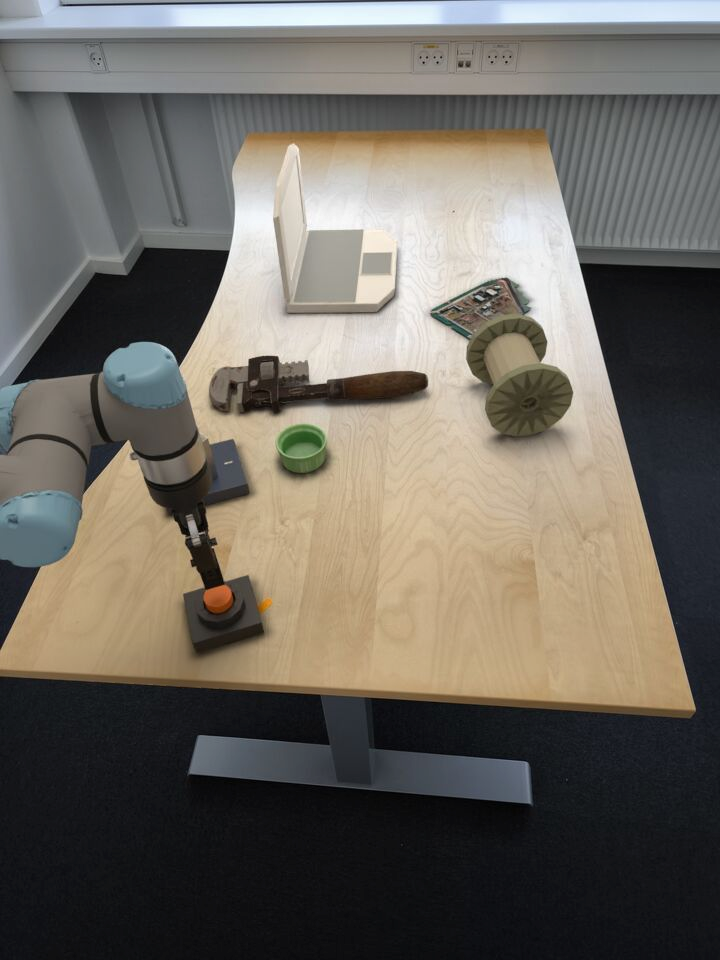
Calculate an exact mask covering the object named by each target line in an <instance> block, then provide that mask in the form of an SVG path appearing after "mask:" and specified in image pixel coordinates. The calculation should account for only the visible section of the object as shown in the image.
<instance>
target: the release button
mask: <svg viewBox="0 0 720 960" xmlns="http://www.w3.org/2000/svg"><path fill="white" fill-rule="evenodd" d="M204 602H205V605H206V608H207V609H208V610H209V611H210V612H212V613H215V614H219V613H223V612H226V611H227V610H229V609H230V607H231V606H232V604H233V596H232V593H231V590H230V588H229V587H228V586H226V585H222V586H219V587H215V588H212V589H208V590H206V591H205V593H204Z"/></svg>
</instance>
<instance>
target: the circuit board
mask: <svg viewBox="0 0 720 960" xmlns="http://www.w3.org/2000/svg"><path fill="white" fill-rule="evenodd" d="M518 286H519V284H518V283H517V282H515V281H513V280H511V279H510V278H509V277H506V276H505V277H501V278H495V279H491V280H487V281H485V282H483V283H481V284H479V285H477V286H475V287H473V288H471V289H469V290H466V291H464V292H463V293H461V294H459V295H457V296H455V297H453V298H451V299H449V300H447V301H445V302H443V303H441V304H439V305H437V306H436V307H433V308H431V310H429V315H431V316H432V317H434V318H435V319H438V320H439V321H441V322H442V323H444V324H446V325H448V326H449V325H450V328H452V329H454V330H455V331H457V332H458V333H460V334H461V335H463V336H465V337H466V338H468V339H469V340H470V339H471V338H472V336H473V334H474V333H475V332H476V331H477V330H478V329H479V328H480V327H481V326H482V325H483V324H485V323H486V322H488V321H490V320H492V319H494V318H496V317H499V316H501V315H509V314H521V315H525V313H526V312H528V311H530V310H531V309H532V307H530V306H528V305H527V304H529V301H530V299H529V298H527V297H526V296H525V295H523V292H522V291H520V290H519V289H517V287H518Z"/></svg>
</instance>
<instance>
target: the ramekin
mask: <svg viewBox="0 0 720 960" xmlns="http://www.w3.org/2000/svg"><path fill="white" fill-rule="evenodd" d="M327 442H328V438H327V435H326V433H325V431H324V430H323V429H322V428H320V427H319V426H317V425H314V424H311V423H295V424H291V425H289V426H287V427H285V428H284V429H283V430H281V431H280V432H279V433H278V435H277V437H276V439H275V448H276V450H277V452H278V456H279V458H280V461H281V463H282V465H283V466H284V468H286V469H287V470H288V471H290V472H293V473H297V474H304V473H305V474H306V473H310V472H313V471H316V470H317V469H320V467H321V466H322V465H323V464H324V462H325V461H326V456H327V448H326V447H327Z"/></svg>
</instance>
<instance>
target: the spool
mask: <svg viewBox="0 0 720 960" xmlns="http://www.w3.org/2000/svg"><path fill="white" fill-rule="evenodd" d="M547 347H548V339H547V336H546V333H545V331H544V328H543V326H542V324H540V323H539V322H538V321H537V320H536V319H534V318H533V317H532V316H528V315H525V314H522V315H521V314H509V315H501V316H499V317H496V318H494V319H492V320H490V321H488V322H486V323H485V324H483V325H482V326H481V327H480V328H479V329H478V330H477V331H476V332H475V333H474V334H473V336H472V338H471V339H469V341H468V343H467V345H466V351H465V352H466V353H465V354H466V355H465V360H466V363H467V365H468V368H469V370H470V372H471V374H472V375H473V376H474V377H475V378H477V379H478V380H479V381H481V383H485V384H490V385H492V386H491V387H490V390H489V391H488V393H487V395H486V396H485V403H484V404H485V405H484V411H485V414H486V417H487V419H488V421H489V424H490V425H491V427H492V428H493V429H495V430H497V431H498V432H499V433H500V434H502V435H507V436H511V437H516V438H518V437H526V436H534V435H537V434H538V433H540V432H543V431H545V430H548V429H550V428H552V427H553V426H554V425H555V424H556V423H558V422H559V421H560V420H562V419H563V418H564V417H565V414H566V413H567V411H568V410H569V409H570V408H571V406H572V403H573V402H572V401H573V397H574V390H573V387H572V384H571V381H570V379H569V377H568V375H567V374H566V373H565V372H564V371H562V370H561V368H559V367H557V366H556V365H552V364H551V365H550V364H547V363H544V362H543V363H542V361H543V359H544V358H545V357H546V355H547V354H546V353H547Z"/></svg>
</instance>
